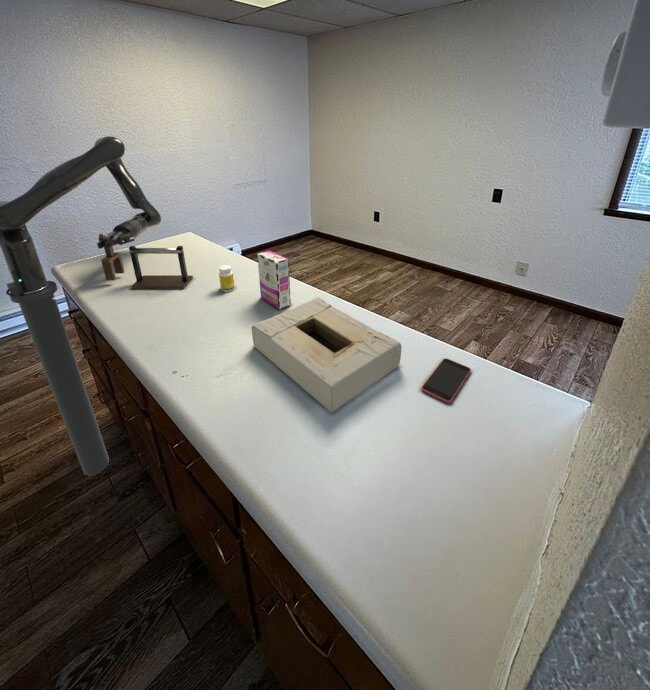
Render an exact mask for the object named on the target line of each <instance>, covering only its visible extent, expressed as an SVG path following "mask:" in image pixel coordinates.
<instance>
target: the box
mask: <svg viewBox="0 0 650 690" xmlns="http://www.w3.org/2000/svg"><path fill="white" fill-rule="evenodd" d="M251 335H252V337H251V338H252V343H253V346H254V347H255V348H256V350H258V351H260V352H259V353H262V354H263V355H264V356H265V357H266V358H267V359H268V360H269V361H270V362H272V363H273V364H274V365H275V366H276V367H278V368H279V369H280V370H281V371H282V372H283V373H285V374H286V375H287V376H288V377H289V378H290V379H292V380H293V381H294V382H295V383H296V384H297V385H299V386H300V387H301V388H302V389H303V390H304V391H305V392H307V393H308V394H309V395H310V396H311V397H312V398H313V399H314V400H316V401H317V402H318V403H319V404H321V405H322V406H323V407H324V408H325V409H326V410H327V411H329V412H330V413H333V412H335V411H336V410H337V409H339V408H341V407H342V406H343V405H344V404H346V403H348V402H349V401H351V400H352V399H354V398H355V397H356V396H358V395H359V394H360V393H362V392H364V391H365V390H366V389H368V388H369V387H371V386H372V385H373V384H375V383H376V382H378V381H379V380H380V379H382V378H383V377H385V376H386V375H388V374H390V372H392V371H393V370H395V369H396V368H398V367H399V366H400V364H401V360H402V359H401V357H402V344H401V342H399V341H398V340H397V339H395V338H393V337H391V336H389V335H386V334H384V333H383V332H381V331H378V330H376V329H375V328H372V327H371V326H368V325H367V324H365V323H364V322H362V321H359V320H358V319H356V318H354V317H352V316H351V315H349V314H347V313H345V312H343V311H342V310H340V309H338V308H337V307H335V306H333V305H332V304H330V303H329V302H326V300H324V299H323V298H321V297H318V296H317V297H314V298H313V299H311V300H309V301H306V302H304V303H301V304H300V305H297V306H295V307H293V308H290V309H288V310H286V311H283V312H281V313H279V314H276V315H274V316H272V317H269V318H268V319H265V320H262V321H260V322H257V323H254V324H253V325H252V326H251Z"/></svg>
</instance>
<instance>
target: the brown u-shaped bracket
mask: <svg viewBox="0 0 650 690" xmlns="http://www.w3.org/2000/svg"><path fill="white" fill-rule="evenodd" d="M109 240H111V238H110V237H104V238H103V239H102V241H103V245H104V247H103V249H104V253H105V256H104V257H102V258H101V259H100V262H101V266H102V269H103V274H104V277H105V281H116V280H117V278H116V274H125V267H124V263H123V260H122V255H121V252H115V251H114V245H113V246H112V247H110V248H109V249H106V247H105V243H106V242H107V241H109Z"/></svg>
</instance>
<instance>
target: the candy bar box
mask: <svg viewBox="0 0 650 690" xmlns="http://www.w3.org/2000/svg"><path fill="white" fill-rule="evenodd" d="M256 255H257V266H258V278H259V291H260V299H261V300H263V301H265V302H266V303H268V304H270V305H271V306H273V307H274V308H275V309H278V310H279V311H280V310H282V309H285V308H287V307H290V306H291V304H292V301H291V282H290V279H291V278H290V260H289V258H287V257H285V256H283V255H280V254H278V253H276V252H274V251H272V250H266V251H262V252H258V253H256Z"/></svg>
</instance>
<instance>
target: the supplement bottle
mask: <svg viewBox="0 0 650 690" xmlns="http://www.w3.org/2000/svg"><path fill="white" fill-rule="evenodd" d="M218 269H219V273H218V277H219V278H218V279H219V285H220V286H219V287H220V290H221V292H225V293H226V292H227V293H228V292H232V291H233V290H235V280H234V279H235V278H234V272H233V271H232V266H231V265H230V264H229V265H227V264H224V265H221V266H219V267H218Z"/></svg>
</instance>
